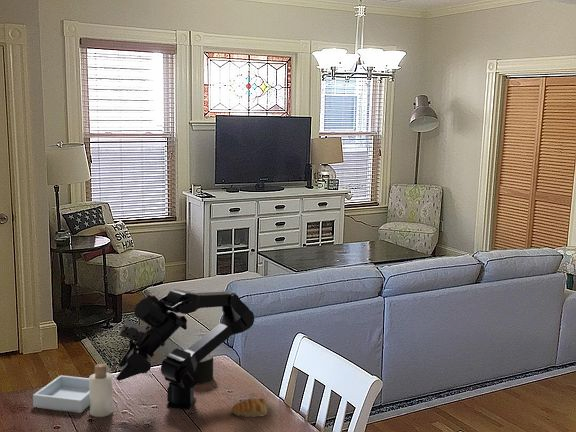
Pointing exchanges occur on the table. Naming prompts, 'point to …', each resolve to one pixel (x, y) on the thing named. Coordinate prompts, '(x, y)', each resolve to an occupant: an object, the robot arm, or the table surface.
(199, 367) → the sushi
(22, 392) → the table surface
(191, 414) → the table surface
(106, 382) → the dressing bottle
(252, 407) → the pastry
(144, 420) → the table surface
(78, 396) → the bin
